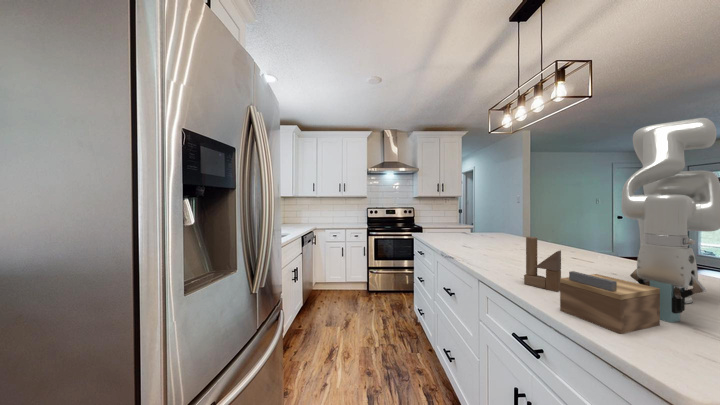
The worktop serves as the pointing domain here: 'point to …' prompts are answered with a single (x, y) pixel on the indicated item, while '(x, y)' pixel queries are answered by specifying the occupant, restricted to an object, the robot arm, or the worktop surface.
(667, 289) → the teal rectangular block
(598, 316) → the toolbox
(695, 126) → the robot arm
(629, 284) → the lid
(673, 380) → the worktop surface
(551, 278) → the wooden block structure
